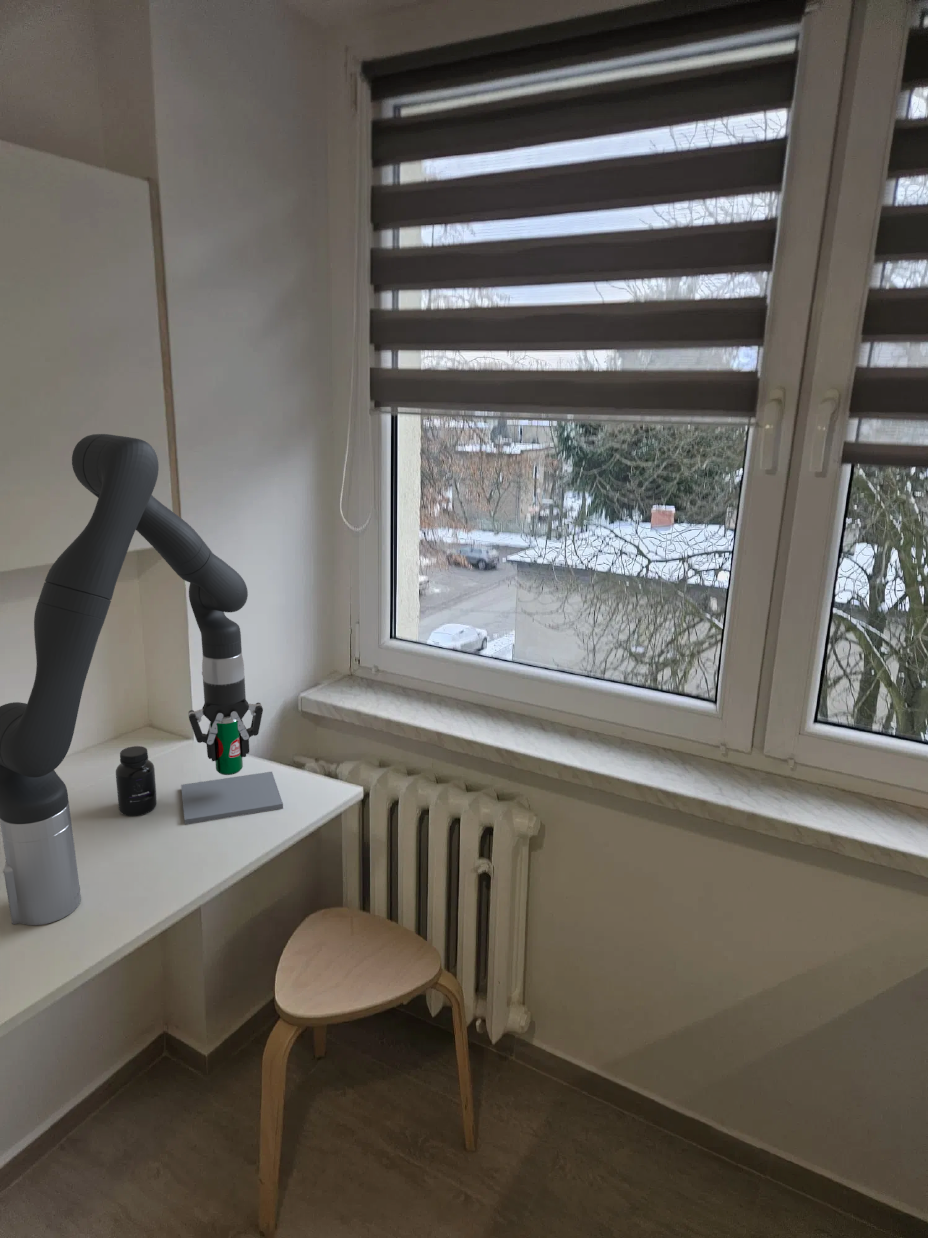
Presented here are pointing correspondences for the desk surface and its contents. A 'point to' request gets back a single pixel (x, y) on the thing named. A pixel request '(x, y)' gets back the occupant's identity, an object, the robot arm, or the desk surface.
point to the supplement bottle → (135, 782)
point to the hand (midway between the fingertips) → (228, 757)
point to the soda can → (228, 747)
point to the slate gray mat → (230, 797)
